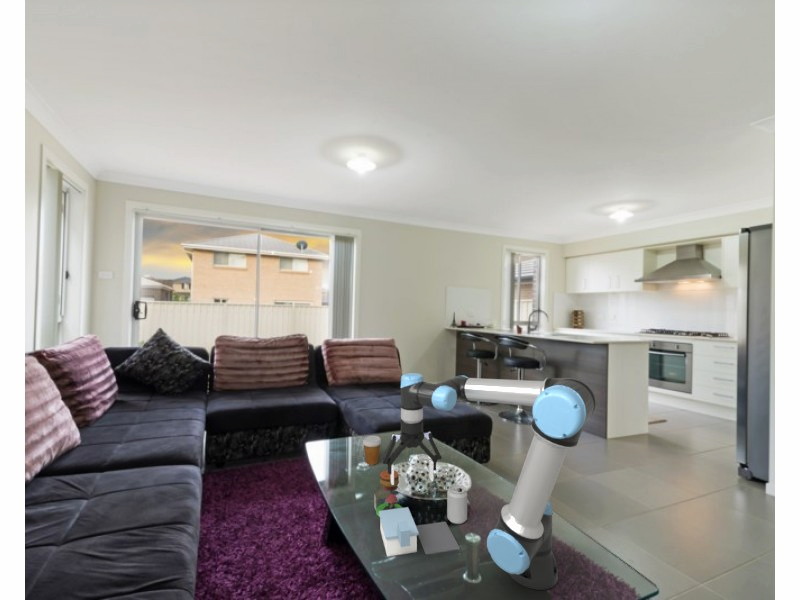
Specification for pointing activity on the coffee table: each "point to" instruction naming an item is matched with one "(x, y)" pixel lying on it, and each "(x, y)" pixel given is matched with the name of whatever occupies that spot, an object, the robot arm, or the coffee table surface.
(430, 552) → the mat
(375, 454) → the disposable coffee cup
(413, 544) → the tub
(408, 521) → the lid
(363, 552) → the coffee table surface
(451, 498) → the can
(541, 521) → the robot arm
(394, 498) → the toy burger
